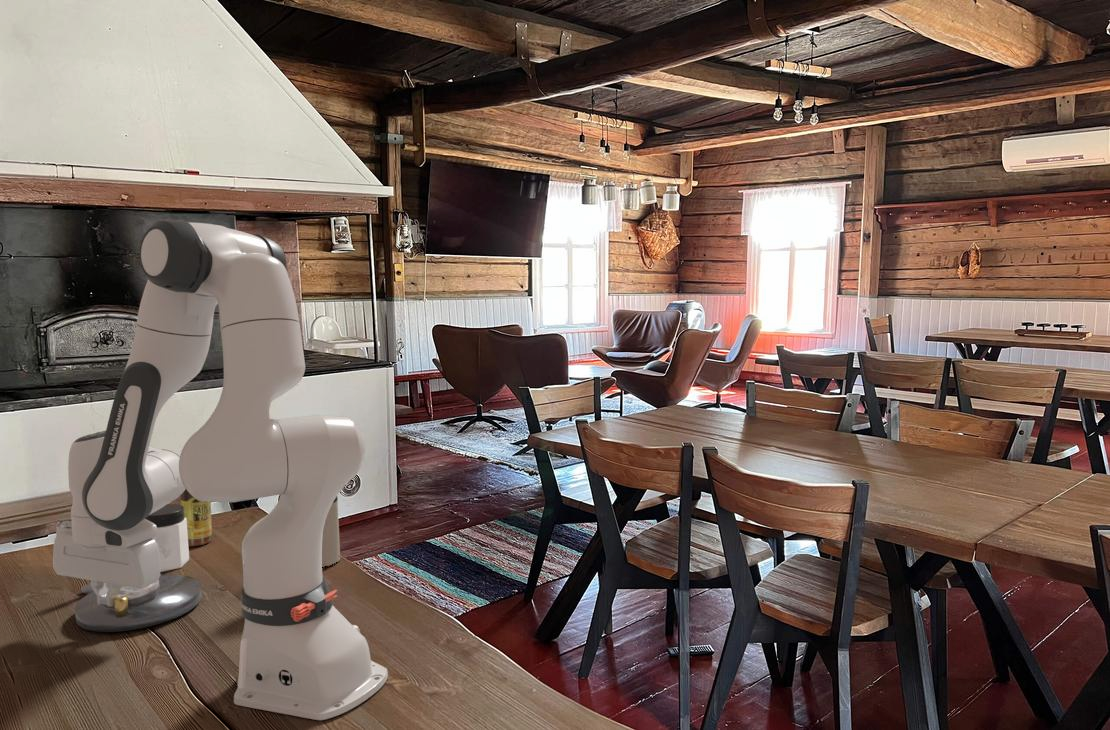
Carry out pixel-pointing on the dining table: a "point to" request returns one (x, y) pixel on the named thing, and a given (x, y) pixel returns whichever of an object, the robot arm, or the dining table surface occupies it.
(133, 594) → the cover
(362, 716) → the dining table surface
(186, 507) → the sauce bottle
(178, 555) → the jar
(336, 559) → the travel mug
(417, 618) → the dining table surface
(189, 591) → the turntable
